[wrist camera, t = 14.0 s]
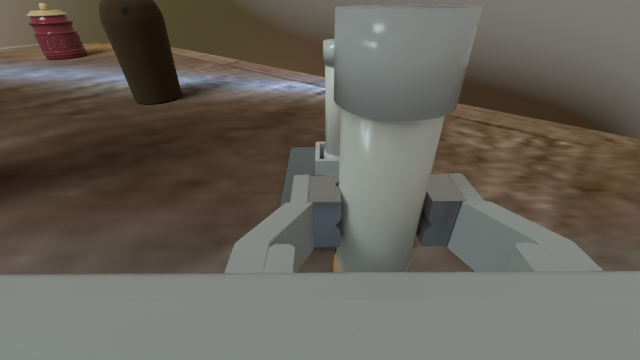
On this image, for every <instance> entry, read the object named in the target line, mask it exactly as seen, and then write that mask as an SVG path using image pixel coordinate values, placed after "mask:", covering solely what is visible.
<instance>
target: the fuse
mask: <svg viewBox="0 0 640 360" xmlns="http://www.w3.org/2000/svg"><path fill="white" fill-rule="evenodd" d="M334 51H335V39H328V40H324V41H323V63H324V64H325V149H324V159H340V130H341V108H340V107H339V106H338V105H336V103H335V102H334Z"/></svg>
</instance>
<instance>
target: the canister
mask: <svg viewBox="0 0 640 360" xmlns="http://www.w3.org/2000/svg"><path fill="white" fill-rule="evenodd" d="M39 8H40V9H41V10H39V11H30V13H29V14H27V16H30V21H29V22H28V24H29V25H30V26H31V27H32V29H33V32H34V33H33V35H34V36H35V37H36V39H37V41H38V43H39V45H40V47H41V49H42V52H43V54H44V56H45V57H46V58H47V59H69V58H76V57H81V56H85V55H87V54H86V50H85V48H84V46H83V44H82V42H81V40H80V37H79V35H78V33H77V30H75V28H74V26H73V24H72V23H73V21H72V20H70V19H69V18H68V17H67V16H66V15H67V14H66V13H65V12H62V11H61V10H49V7H48V6H47V5H46V4H45V3H40V4H39Z"/></svg>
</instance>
